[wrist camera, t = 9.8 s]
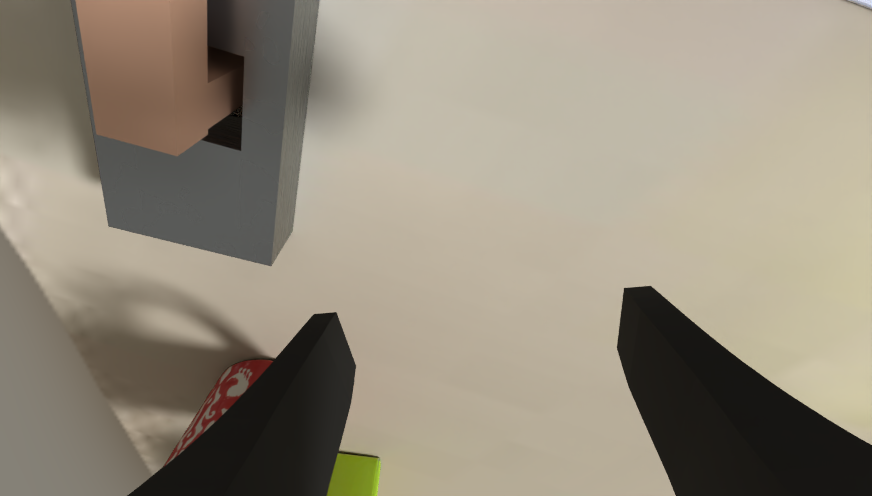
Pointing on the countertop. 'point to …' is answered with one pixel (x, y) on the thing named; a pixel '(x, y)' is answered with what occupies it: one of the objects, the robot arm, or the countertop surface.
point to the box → (354, 476)
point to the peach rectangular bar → (156, 72)
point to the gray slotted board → (225, 144)
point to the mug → (221, 399)
